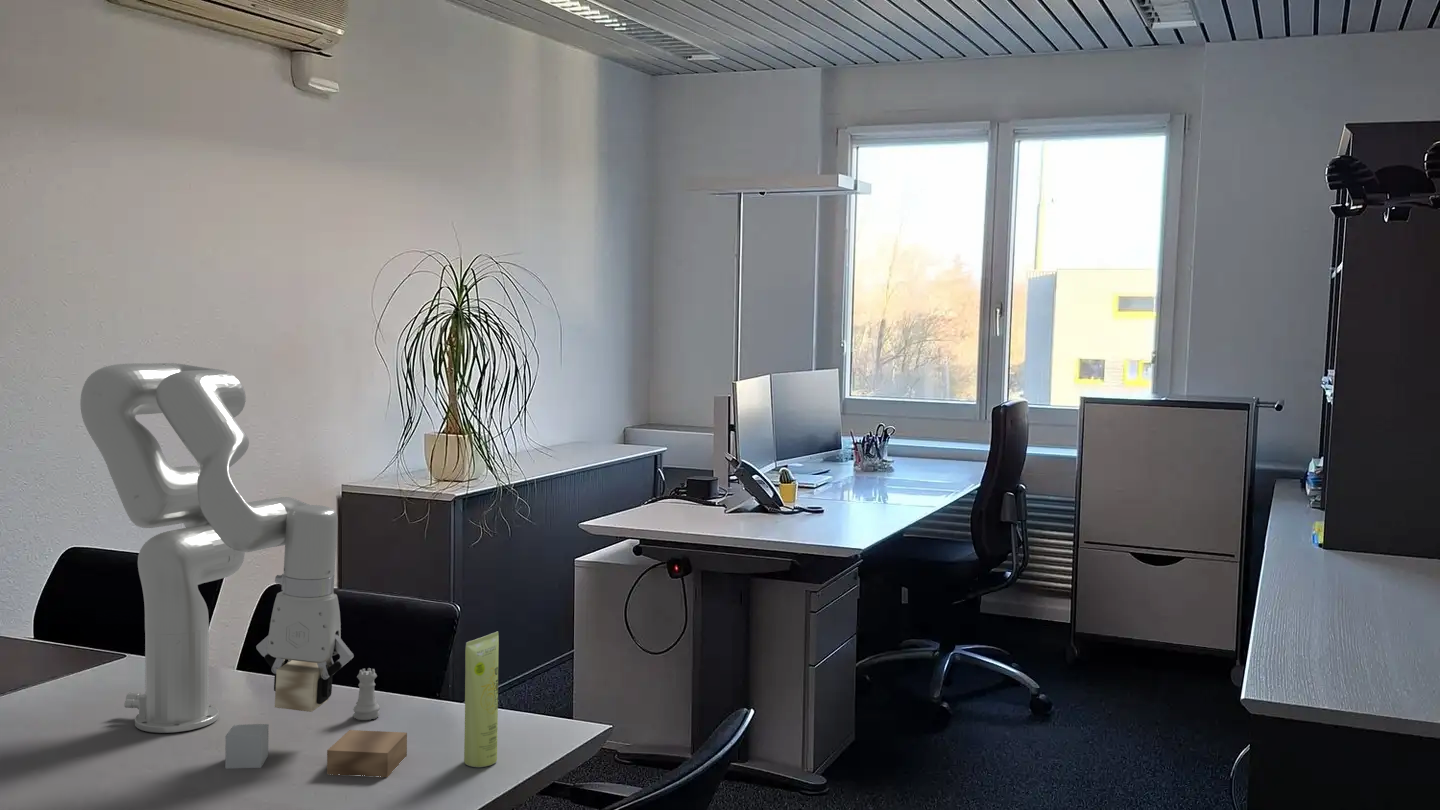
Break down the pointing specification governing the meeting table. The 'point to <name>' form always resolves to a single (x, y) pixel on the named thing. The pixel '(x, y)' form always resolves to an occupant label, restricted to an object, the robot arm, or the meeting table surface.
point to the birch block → (297, 686)
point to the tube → (481, 701)
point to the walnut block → (367, 753)
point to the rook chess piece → (366, 696)
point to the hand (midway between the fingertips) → (302, 697)
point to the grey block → (246, 746)
